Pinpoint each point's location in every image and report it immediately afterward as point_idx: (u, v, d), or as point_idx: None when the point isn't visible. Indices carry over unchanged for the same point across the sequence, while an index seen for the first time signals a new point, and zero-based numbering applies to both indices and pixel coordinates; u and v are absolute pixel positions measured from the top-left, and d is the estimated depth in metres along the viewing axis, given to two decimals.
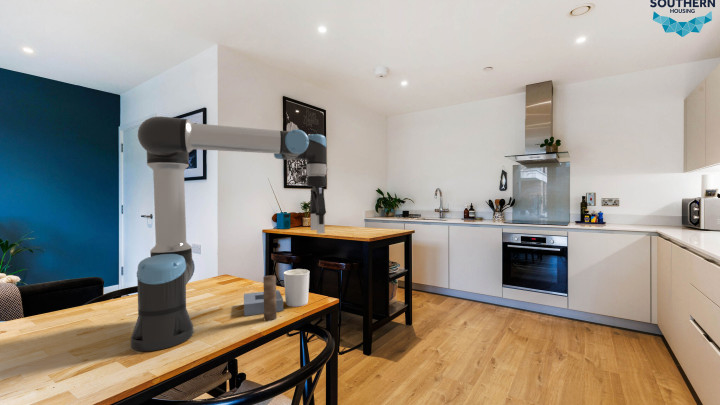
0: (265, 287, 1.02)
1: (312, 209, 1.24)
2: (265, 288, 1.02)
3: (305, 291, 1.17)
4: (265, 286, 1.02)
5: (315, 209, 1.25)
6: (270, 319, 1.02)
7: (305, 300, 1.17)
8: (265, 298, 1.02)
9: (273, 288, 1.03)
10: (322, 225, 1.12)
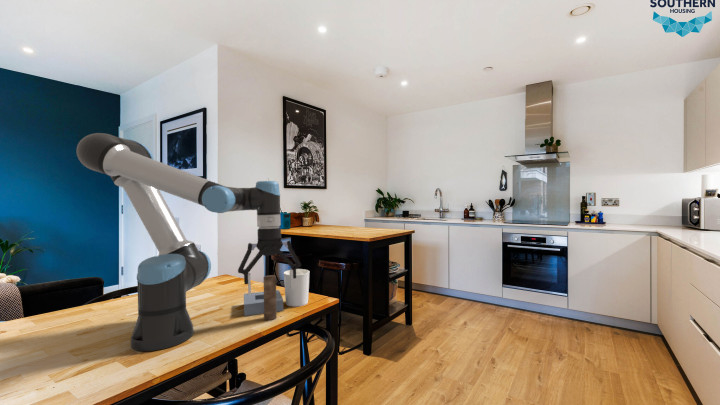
0: (265, 287, 1.02)
1: None
2: (265, 288, 1.02)
3: (305, 291, 1.17)
4: (265, 286, 1.02)
5: (289, 264, 1.06)
6: (270, 319, 1.02)
7: (305, 300, 1.17)
8: (265, 298, 1.02)
9: (273, 288, 1.03)
10: (248, 285, 1.01)
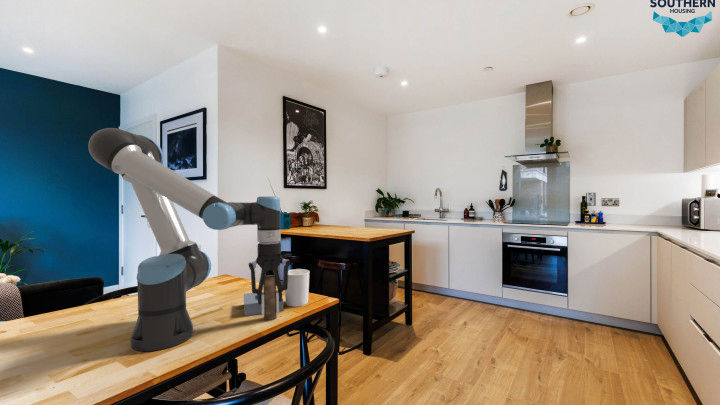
0: (265, 287, 1.02)
1: None
2: (265, 288, 1.02)
3: (305, 291, 1.17)
4: (265, 286, 1.02)
5: (277, 285, 1.04)
6: (270, 319, 1.02)
7: (305, 300, 1.17)
8: (265, 298, 1.02)
9: (273, 288, 1.03)
10: (261, 305, 1.02)
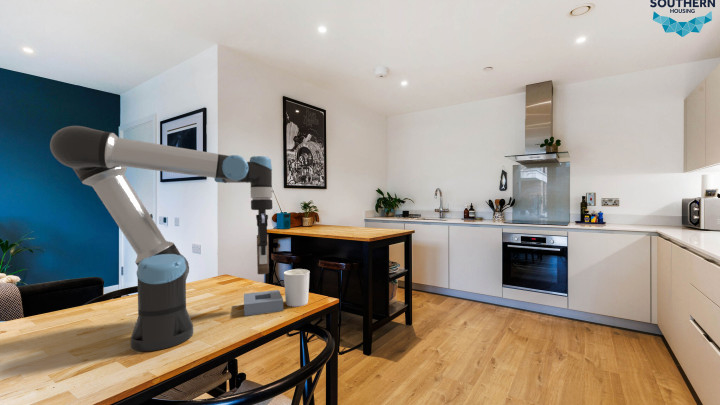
0: None
1: None
2: None
3: (305, 291, 1.17)
4: None
5: None
6: (268, 271, 1.15)
7: (305, 300, 1.17)
8: None
9: None
10: (264, 255, 1.12)
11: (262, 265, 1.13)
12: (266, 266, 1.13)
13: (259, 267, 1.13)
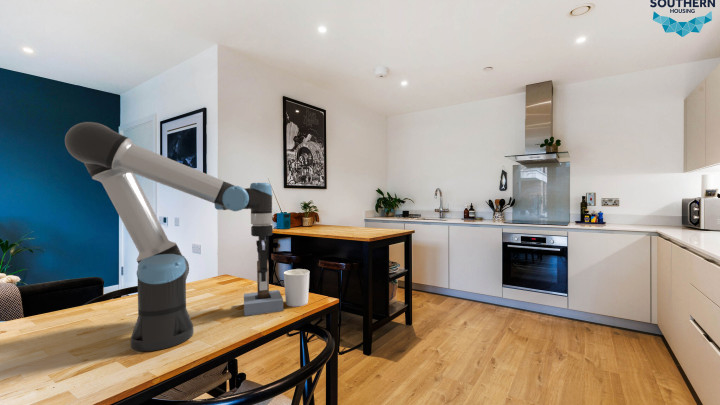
0: None
1: None
2: None
3: (305, 291, 1.17)
4: None
5: None
6: (268, 297, 1.15)
7: (305, 300, 1.17)
8: None
9: None
10: (265, 282, 1.12)
11: (262, 291, 1.13)
12: (266, 292, 1.13)
13: (259, 293, 1.13)
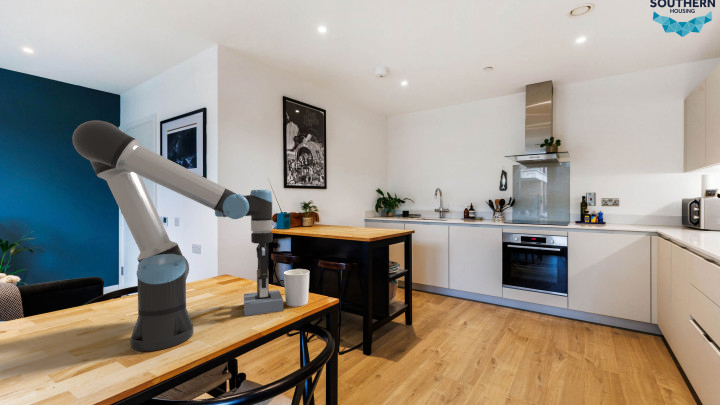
0: None
1: (259, 267, 1.18)
2: None
3: (305, 291, 1.17)
4: None
5: None
6: None
7: (305, 300, 1.17)
8: None
9: None
10: (265, 288, 1.10)
11: None
12: None
13: None
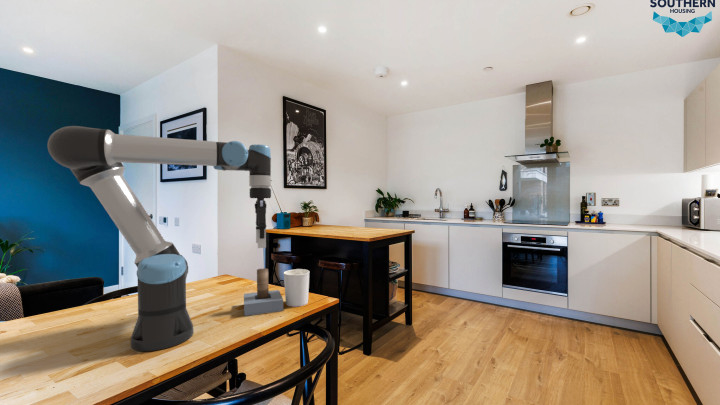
0: (266, 278, 1.14)
1: (257, 221, 1.20)
2: (266, 279, 1.14)
3: (305, 291, 1.17)
4: (266, 277, 1.14)
5: None
6: None
7: (305, 300, 1.17)
8: (266, 289, 1.13)
9: None
10: (263, 239, 1.08)
11: None
12: None
13: None
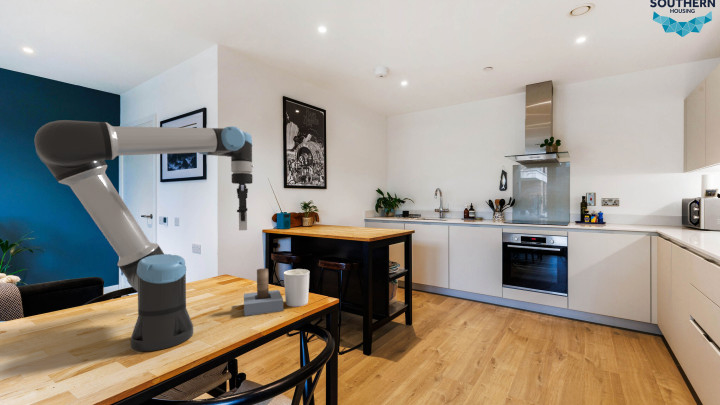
0: (266, 278, 1.14)
1: None
2: (266, 279, 1.14)
3: (305, 291, 1.17)
4: (266, 277, 1.14)
5: None
6: None
7: (305, 300, 1.17)
8: (266, 289, 1.13)
9: None
10: (244, 222, 1.13)
11: None
12: None
13: None
